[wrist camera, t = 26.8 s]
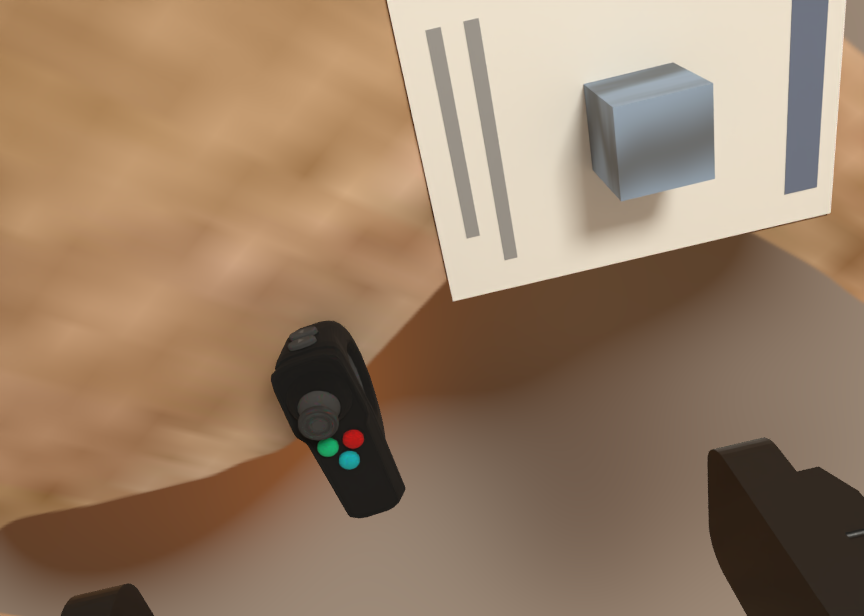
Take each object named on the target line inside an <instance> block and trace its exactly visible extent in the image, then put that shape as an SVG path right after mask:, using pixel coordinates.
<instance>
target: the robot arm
mask: <svg viewBox="0 0 864 616" xmlns="http://www.w3.org/2000/svg"><path fill="white" fill-rule="evenodd" d="M708 504H709V505H708V509H709V532H710V537H711V541H712V545H713V549H714V552H715V555H716V558H717V560H718V563H719V565H720V567H721V569H722V571H723V573H724V575H725V577H726V579H727V581H728V582H729V584H730V586H731V588H732V590H733V591H734V593H735V595H736V597H737V598H738V600H739V602H740V604H741V605H742V607H743V609H744V611H745V613H746V614H747V616H864V497H863V496H862V495H861V494H860V493H859V491H858V490H856V489H855V488H853V487H851V486H850V485H848V484H846V483H844V482H843V481H841V480H840V479H838V478H837V477H835V476H833V475H832V474H830V473H828V472H827V471H825V470H823V469H822V468H820V467H815V468H811V469H806V470H802V471H798V472H797V471H796V470H795V469H794V468H793V466H792V465H791V464H790V462H789V461H788V460H787V459H786V457H784V455H783V454H782V453H781V451H780V450H779V449H778V447H777V446H776V445H775V444H774V443H773V442H772V441H771V440H770V439H767V438H765V437H764V438H760V439H755V440H751V441H747V442H742V443H738V444H734V445H730V446H725V447H721V448H717V449H713V450H710V451H709V454H708ZM61 616H154V615H153V613H152V612H151V610H150V608H149V607H148V605H147V603H146V602H145V600H144V598H143V597H142V595H141V594H140V592H139V590H138V589H137V588H136V587H135V586H134V585H132V584H124V585H120V586H115V587H111V588H107V589H102V590H98V591H94V592H89V593H85V594H81V595H77V596H74V597H72V598H71V599H70V600H69V601H68V602H67V603H66V605H65V607H64V609H63V611H62V614H61Z"/></svg>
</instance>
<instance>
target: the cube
mask: <svg viewBox="0 0 864 616" xmlns="http://www.w3.org/2000/svg"><path fill="white" fill-rule="evenodd" d="M583 85H584V95H585V104H586V113H587V123H588V132H589V142H590V151H591V160H592V170H593V171H594V172H595V173H596V174H597V175H598V177H599V178H600V179H601V180H602V181H603V182H604V183H605V184H606V185H607V187H608V188H609V189H610V190H611V191H612V192H613V193H614V194H615V195H616V196H617V198H618V199H619V200H620V201H625V200H629V199H634V198H638V197H642V196H646V195H650V194H654V193H658V192H662V191H667V190H671V189H675V188H679V187H683V186H687V185H691V184H696V183H700V182H704V181H708V180H712V179H715V152H714V99H713V83H712V82H710V81H708V80H706V79H704V78H702V77H700V76H698V75H696V74H695V73H693V72H691V71H689V70H687V69H685V68H683V67H681V66H679V65H677V64H675V63H673V62H672V63H668V64H664V65H660V66H656V67H652V68H648V69H643V70H639V71H635V72H631V73H627V74H623V75H619V76H615V77H611V78H606V79H602V80H598V81H594V82H590V83H586V84H583Z"/></svg>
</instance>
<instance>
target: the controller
mask: <svg viewBox="0 0 864 616" xmlns="http://www.w3.org/2000/svg"><path fill="white" fill-rule="evenodd" d="M275 370H276V371H275V372H274V373H273V374H272V375H271V382H272V386H273V389H274V392H275V394H276V396H277V399H278V401H279V403H280V405H281V407H282V409H283V411H284V414H285V416H286V418H287V420H288V422H289V424H290V427H291V429H292V431H293V432H294V434H295V436H296V437H297V438H298V439H300V440H301V441H303V442H305V443H306V444H307V445H308V446H309V448H310V450H311V452H312V453H313V455H314V457H315V458H316V460H317V462H318V464H319V465H320V467H321V469H322V471H323V472H324V474H325V476H326V477H327V479H328V481H329V483H330V484H331V486H332V488H333V489H334V491H335V493H336V495H337V496H338V498H339V500H340V502H341V503H342V505H343V507H344V508H345V510H346V512H347V513H348V515H349V516H350V517H355V518H364V517H369V516H372V515H375V514H378V513H381V512H384V511H387V510H390V509H391V508H393V507H395V505H397V504H398V503H399V501H400V499H401V497H402V495H403V493H404V491H405V485H404V483H403V481H402V478H401V476H400V473H399V471H398V469H397V466H396V464H395V461H394V459H393V456H392V454H391V452H390V449H389V447H388V444H387V442H386V439H385V433H384V426H383V421H382V417H381V413H380V409H379V405H378V401H377V398H376V394H375V391H374V388H373V385H372V381H371V378H370V375H369V373H368V370H367V368H366V365H365V363H364V360H363V358H362V355H361V353H360V351H359V349H358V347H357V345H356V343H355V341H354V340H353V338H352V336H351V335H350V333H349V332H348V331H347V330H346V329H345V328H344V327H343V326H342V325H341V324H339V323H337V322H335V321H322V322H318V323H315V324H312V325H309V326H306V327H303V328H300V329H299V330H297V331H295V332H294V333H292V334H291V335H290V336H289V338H288V339H287V341H286V343H285V345H284V347H283V349H282V352H281V354H280V356H279V358H278V360H277V363H276V367H275Z"/></svg>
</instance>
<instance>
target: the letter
mask: <svg viewBox="0 0 864 616" xmlns="http://www.w3.org/2000/svg"><path fill="white" fill-rule="evenodd" d="M387 4H388V8H389V13H390V17H391V22H392V27H393V31H394V36H395V40H396V45H397V49H398V54H399V58H400V63H401V68H402V72H403V77H404V81H405V86H406V90H407V95H408V99H409V104H410V109H411V113H412V118H413V122H414V127H415V131H416V136H417V140H418V145H419V150H420V154H421V159H422V163H423V168H424V172H425V177H426V181H427V186H428V190H429V195H430V200H431V204H432V209H433V213H434V218H435V222H436V227H437V231H438V236H439V241H440V245H441V250H442V254H443V259H444V263H445V268H446V272H447V277H448V282H449V286H450V291H451V295H452V300H453V301H457V300H461V299H465V298H469V297H474V296H479V295H483V294H487V293H491V292H496V291H500V290H504V289H508V288H513V287H517V286H521V285H525V284H530V283H534V282H538V281H543V280H547V279H551V278H555V277H560V276H564V275H568V274H572V273H577V272H581V271H585V270H589V269H594V268H598V267H602V266H607V265H611V264H615V263H619V262H623V261H628V260H632V259H636V258H641V257H645V256H649V255H653V254H658V253H662V252H666V251H671V250H675V249H679V248H683V247H688V246H692V245H696V244H700V243H705V242H709V241H713V240H717V239H722V238H726V237H730V236H735V235H738V234H743V233H747V232H752V231H756V230H760V229H764V228H769V227H773V226H777V225H782V224H786V223H790V222H794V221H799V220H803V219H807V218H811V217H816V216H820V215H824V214H828V213H831V199H832V186H833V172H834V159H835V145H836V132H837V118H838V105H839V91H840V78H841V64H842V50H843V37H844V23H845V10H846V0H387ZM672 62H673V63H675V64H677V65H679V66H681V67H683V68H685V69H687V70H689V71H691V72H693V73H695V74H696V75H698V76H700V77H702V78H704V79H706V80H708V81H710V82H712V83H713V99H714V152H715V179H712V180H708V181H704V182H700V183H696V184H691V185H687V186H683V187H679V188H675V189H671V190H667V191H662V192H658V193H654V194H650V195H646V196H642V197H638V198H634V199H629V200H625V201H620V200H619V199H618V198H617V196H616V195H615V194H614V193H613V192H612V191H611V190H610V189H609V188H608V187H607V185H606V184H605V183H604V182H603V181H602V180H601V179H600V178H599V177H598V175H597V174H596V173H595V172H594V171H593V170H592V160H591V151H590V142H589V132H588V123H587V113H586V104H585V95H584V85H583V84H586V83H590V82H594V81H598V80H602V79H606V78H611V77H615V76H619V75H623V74H627V73H631V72H635V71H639V70H643V69H648V68H652V67H656V66H660V65H664V64H668V63H672Z"/></svg>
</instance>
